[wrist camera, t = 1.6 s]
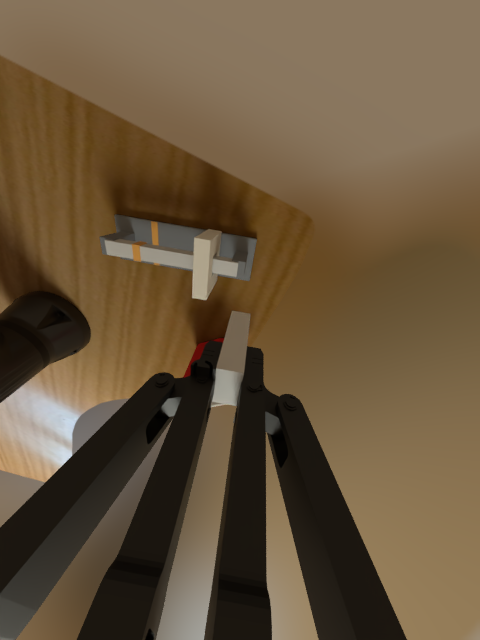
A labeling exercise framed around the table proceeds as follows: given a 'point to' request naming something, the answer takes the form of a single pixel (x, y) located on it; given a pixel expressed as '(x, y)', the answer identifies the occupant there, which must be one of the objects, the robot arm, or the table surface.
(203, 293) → the thick cream end plate
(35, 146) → the table surface
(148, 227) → the grey slide rail
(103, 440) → the robot arm
